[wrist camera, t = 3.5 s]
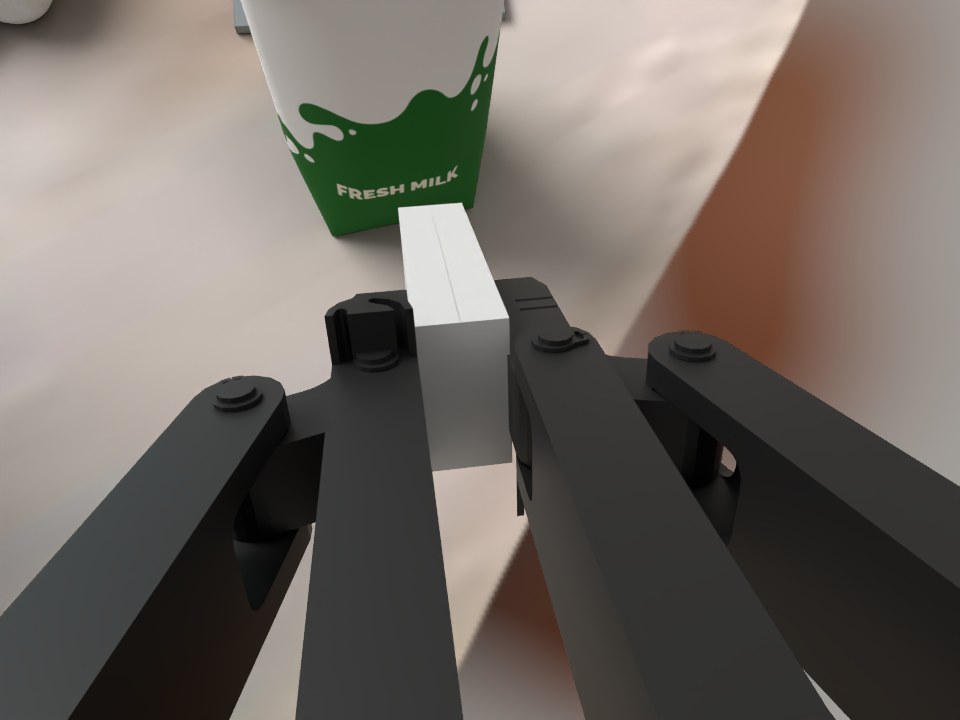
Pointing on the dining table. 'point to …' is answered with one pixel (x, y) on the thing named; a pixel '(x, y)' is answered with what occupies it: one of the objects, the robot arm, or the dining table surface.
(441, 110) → the fresh milk carton
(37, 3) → the rainbow cloud toy
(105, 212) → the dining table surface
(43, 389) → the dining table surface
